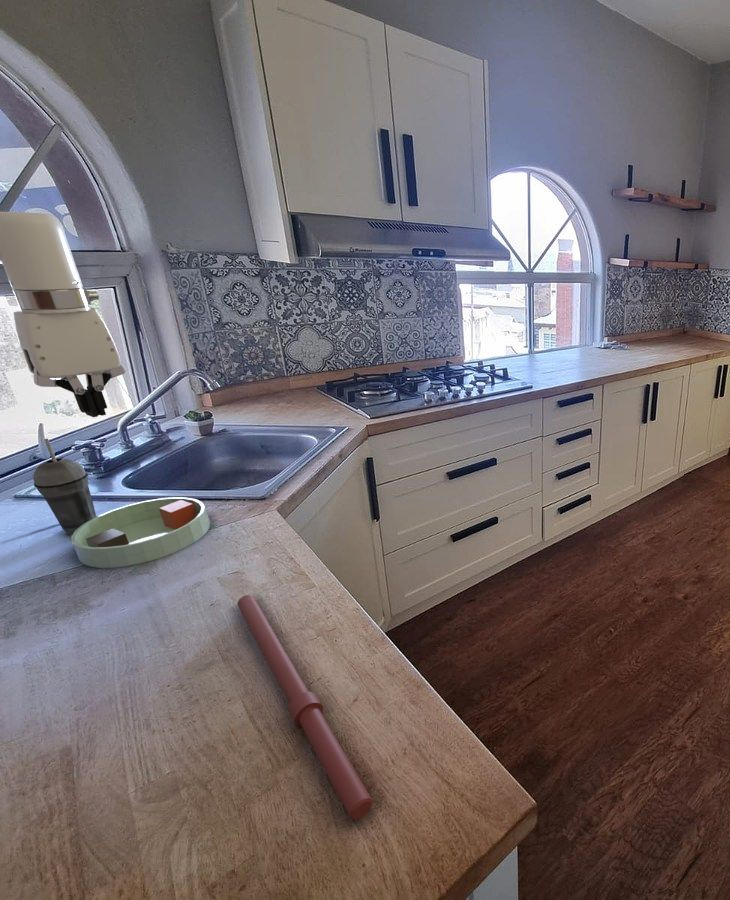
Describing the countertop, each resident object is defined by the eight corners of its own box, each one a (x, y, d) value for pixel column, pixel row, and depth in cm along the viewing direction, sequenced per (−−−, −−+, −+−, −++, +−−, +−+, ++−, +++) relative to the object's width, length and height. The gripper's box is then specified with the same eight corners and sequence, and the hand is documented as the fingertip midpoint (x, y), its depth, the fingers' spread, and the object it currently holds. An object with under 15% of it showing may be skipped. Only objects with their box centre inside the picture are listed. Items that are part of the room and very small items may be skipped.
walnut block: (105, 563, 89) (97, 544, 88) (93, 557, 90) (85, 538, 89) (132, 551, 92) (125, 533, 91) (120, 546, 94) (112, 528, 92)
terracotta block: (176, 530, 100) (170, 512, 98) (164, 525, 101) (158, 508, 100) (198, 521, 103) (192, 503, 102) (186, 516, 105) (180, 499, 103)
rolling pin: (379, 809, 53) (375, 789, 51) (348, 831, 50) (343, 811, 49) (259, 604, 81) (254, 588, 80) (236, 613, 79) (231, 597, 78)
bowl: (108, 583, 85) (99, 560, 83) (61, 550, 93) (52, 529, 91) (230, 531, 101) (224, 512, 99) (181, 507, 109) (175, 489, 107)
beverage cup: (100, 518, 104) (64, 428, 96) (114, 528, 101) (78, 436, 93) (51, 534, 98) (9, 439, 91) (64, 545, 95) (21, 448, 87)
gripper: (105, 296, 84) (140, 400, 91) (-28, 303, 72) (24, 423, 79) (126, 299, 81) (160, 407, 88) (-10, 307, 69) (43, 432, 76)
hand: (96, 414), depth 83 cm, fingers closed
